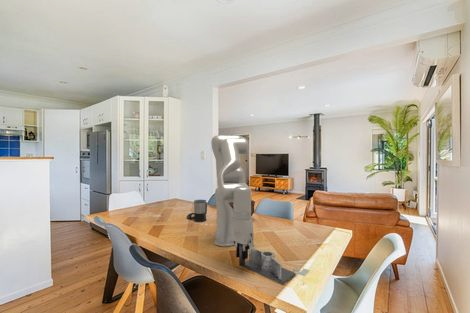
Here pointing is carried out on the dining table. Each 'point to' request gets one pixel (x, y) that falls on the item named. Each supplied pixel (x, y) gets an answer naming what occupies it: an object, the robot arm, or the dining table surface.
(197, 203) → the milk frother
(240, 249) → the hinge pin
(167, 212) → the dining table surface
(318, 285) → the dining table surface
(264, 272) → the hinge stand
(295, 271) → the mounting bracket
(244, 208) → the robot arm
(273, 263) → the hinge leaf
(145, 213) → the dining table surface
